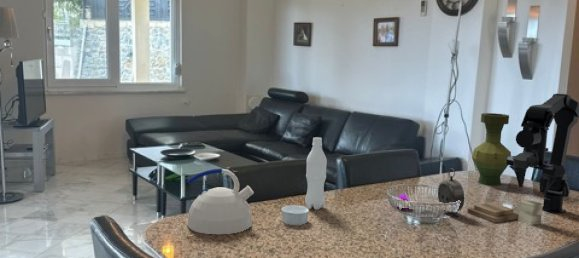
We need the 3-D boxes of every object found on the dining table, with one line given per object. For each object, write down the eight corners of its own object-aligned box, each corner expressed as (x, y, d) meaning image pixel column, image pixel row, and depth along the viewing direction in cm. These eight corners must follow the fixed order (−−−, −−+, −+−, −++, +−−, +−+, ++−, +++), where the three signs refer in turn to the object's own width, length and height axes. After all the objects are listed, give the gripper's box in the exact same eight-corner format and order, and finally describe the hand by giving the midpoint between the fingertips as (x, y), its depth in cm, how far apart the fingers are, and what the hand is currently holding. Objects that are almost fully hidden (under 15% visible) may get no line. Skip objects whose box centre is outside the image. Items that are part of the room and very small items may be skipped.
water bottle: (301, 209, 189) (304, 138, 186) (308, 203, 196) (311, 135, 192) (321, 211, 187) (324, 140, 183) (327, 206, 193) (330, 137, 190)
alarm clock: (464, 218, 184) (467, 171, 182) (449, 218, 183) (453, 172, 181) (447, 208, 195) (450, 164, 192) (433, 209, 193) (436, 165, 191)
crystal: (392, 206, 196) (393, 193, 195) (405, 205, 198) (406, 193, 197) (398, 210, 191) (399, 197, 191) (412, 209, 193) (413, 197, 192)
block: (527, 219, 185) (529, 199, 184) (540, 223, 181) (542, 203, 180) (517, 220, 183) (519, 200, 182) (530, 225, 179) (532, 204, 178)
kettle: (253, 235, 161) (254, 176, 159) (182, 235, 160) (183, 175, 157) (253, 215, 181) (254, 162, 179) (190, 214, 180) (190, 161, 177)
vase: (472, 186, 229) (478, 115, 225) (467, 177, 245) (472, 111, 240) (513, 188, 226) (520, 117, 222) (505, 180, 242) (511, 113, 238)
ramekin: (291, 216, 181) (291, 203, 181) (313, 221, 176) (314, 208, 176) (275, 222, 174) (276, 209, 173) (298, 228, 169) (298, 215, 168)
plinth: (491, 209, 196) (492, 201, 195) (519, 218, 185) (520, 210, 185) (467, 212, 190) (468, 204, 190) (494, 222, 180) (495, 214, 179)
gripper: (496, 141, 183) (492, 186, 185) (545, 151, 166) (540, 200, 169) (519, 139, 188) (515, 183, 190) (568, 148, 171) (563, 196, 174)
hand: (532, 190), depth 180 cm, fingers open, 9 cm apart
